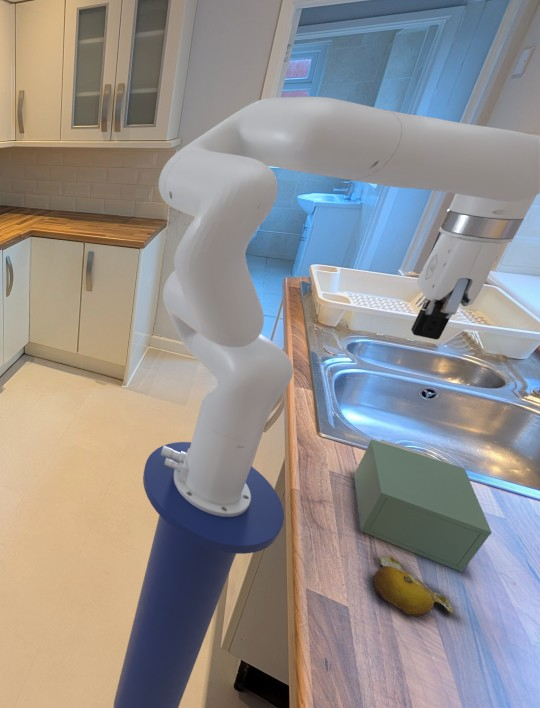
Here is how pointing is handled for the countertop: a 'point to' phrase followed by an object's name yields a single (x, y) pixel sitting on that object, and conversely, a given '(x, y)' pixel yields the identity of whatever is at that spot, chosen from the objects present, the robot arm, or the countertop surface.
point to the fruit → (405, 589)
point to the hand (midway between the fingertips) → (424, 335)
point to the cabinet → (419, 505)
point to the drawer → (407, 449)
